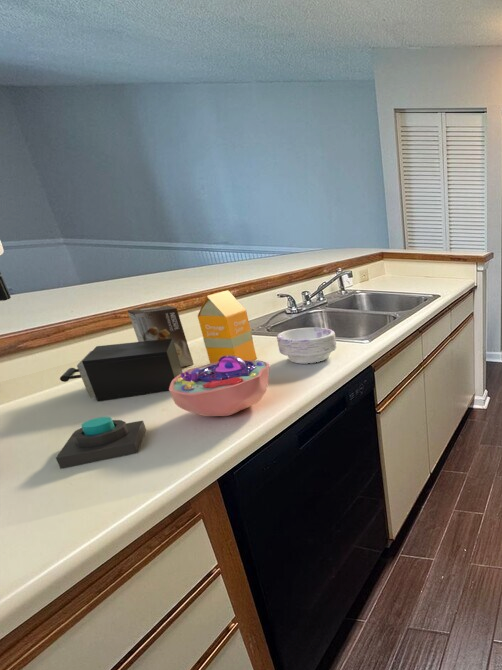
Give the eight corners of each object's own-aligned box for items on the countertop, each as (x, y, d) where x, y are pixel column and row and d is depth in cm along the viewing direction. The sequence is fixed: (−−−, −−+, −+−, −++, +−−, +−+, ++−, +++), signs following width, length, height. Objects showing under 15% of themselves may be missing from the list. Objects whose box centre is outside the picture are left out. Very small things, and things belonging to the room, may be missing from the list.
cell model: (154, 427, 84) (136, 374, 80) (229, 389, 102) (218, 344, 98) (230, 434, 82) (216, 380, 78) (294, 394, 100) (285, 348, 96)
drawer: (63, 402, 92) (49, 368, 89) (78, 384, 101) (66, 353, 98) (165, 387, 101) (155, 356, 98) (170, 372, 109) (162, 343, 107)
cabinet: (97, 401, 94) (81, 361, 91) (110, 383, 104) (96, 346, 101) (178, 389, 102) (166, 351, 98) (182, 373, 111) (172, 338, 108)
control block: (60, 469, 70) (51, 448, 69) (77, 442, 78) (69, 423, 76) (137, 453, 75) (130, 433, 74) (146, 430, 83) (140, 411, 81)
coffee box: (185, 360, 121) (169, 304, 115) (194, 364, 117) (178, 307, 111) (146, 368, 114) (126, 309, 108) (153, 373, 111) (134, 313, 105)
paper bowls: (347, 352, 130) (343, 327, 127) (321, 369, 116) (317, 341, 113) (300, 349, 132) (296, 325, 129) (269, 366, 118) (264, 338, 115)
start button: (81, 438, 73) (78, 429, 72) (88, 428, 76) (84, 420, 75) (112, 432, 75) (109, 423, 74) (117, 423, 78) (114, 415, 77)
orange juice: (257, 358, 123) (242, 289, 116) (238, 369, 115) (221, 295, 108) (231, 357, 123) (214, 289, 116) (210, 368, 115) (190, 294, 108)
